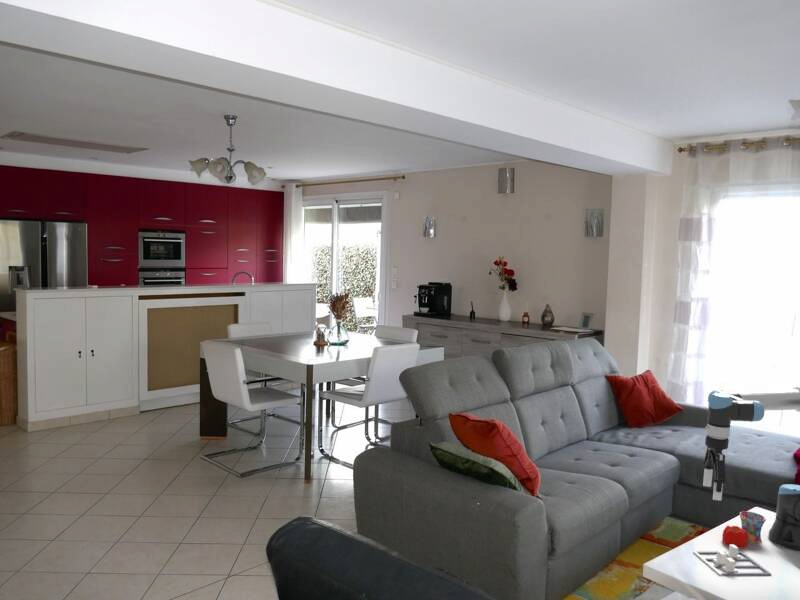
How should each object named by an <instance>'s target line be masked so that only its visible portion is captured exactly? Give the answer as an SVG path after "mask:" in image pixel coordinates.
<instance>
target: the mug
mask: <svg viewBox="0 0 800 600" xmlns="http://www.w3.org/2000/svg"><path fill="white" fill-rule="evenodd" d="M738 514H739V517H740V522H741V527H740V528H741V529H744V530H745V531H746V532H747V534H748V537H749V542H748V543H753V544H760V543H761V544H762V543H763V540H762V537H761V533H762V529H763V526H764V523H765V522H766V521H767V519H766V517H765V516H764V515H762V514H760V513H757V512H753V511H747V510H743V511H740V512H739V513H738Z"/></svg>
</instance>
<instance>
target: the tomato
mask: <svg viewBox="0 0 800 600" xmlns="http://www.w3.org/2000/svg"><path fill="white" fill-rule="evenodd" d="M741 528H742V527H739V526H737V525H732V526H731V525H726V526H725V528H723V531H722V537H721V538H722V541H723V543H724V544H725V545H727V546H728V547H729V544H730V545H735V546H737V547H738V549H745V548H746V547H747V546H748V545H749V543H750V542H749V537H748V534H747V532H746V531H745V530H744V529H741Z"/></svg>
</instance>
